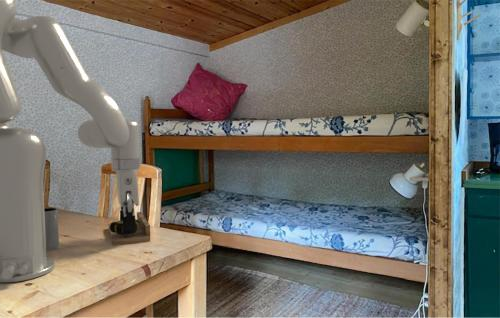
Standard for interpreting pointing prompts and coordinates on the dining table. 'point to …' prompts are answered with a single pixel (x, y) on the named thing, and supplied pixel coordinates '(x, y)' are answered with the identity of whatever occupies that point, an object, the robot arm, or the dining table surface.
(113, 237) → the brown wooden tray
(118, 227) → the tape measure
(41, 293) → the dining table surface
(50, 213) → the planter
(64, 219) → the dining table surface
